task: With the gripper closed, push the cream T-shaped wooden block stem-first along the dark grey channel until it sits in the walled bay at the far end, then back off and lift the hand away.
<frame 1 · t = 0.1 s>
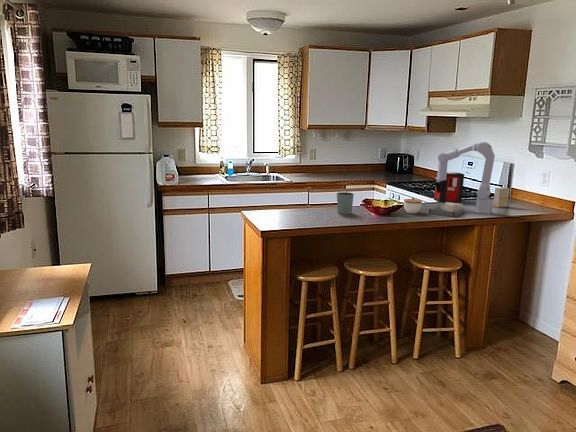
hand: (440, 191, 318), 10 cm above the countertop, tool pointing down, fingers open, 7 cm apart
t block: (451, 210, 310), on the countertop
supplement box: (499, 207, 328), on the countertop
lidded jar: (411, 212, 298), on the countertop
grey cup: (344, 213, 290), on the countertop
cleaning product box: (447, 201, 344), on the countertop
bay: (446, 212, 300), on the countertop
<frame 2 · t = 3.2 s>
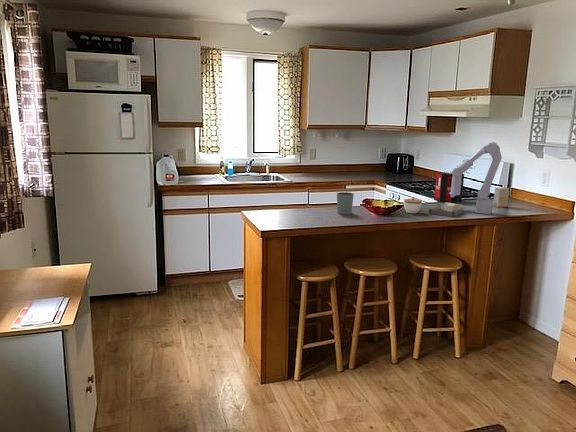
hand: (453, 207, 313), 1 cm above the countertop, tool pointing down, fingers closed
t block: (451, 210, 308), on the countertop, touching gripper
everything else where it was.
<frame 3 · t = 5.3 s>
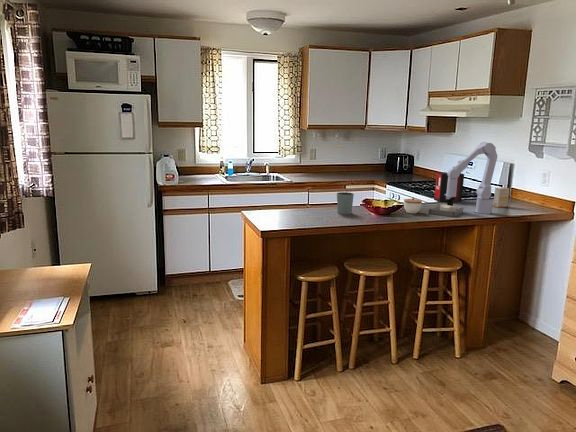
hand: (449, 209, 305), 1 cm above the countertop, tool pointing down, fingers closed
t block: (446, 212, 300), resting in bay, touching gripper
everything else where it was.
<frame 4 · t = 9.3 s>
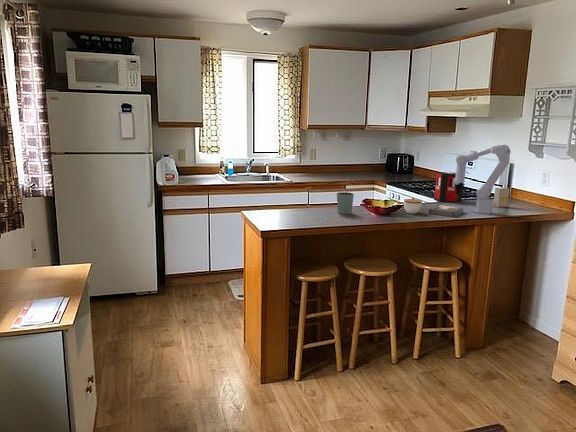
hand: (458, 194, 314), 9 cm above the countertop, tool pointing down, fingers closed
t block: (445, 213, 297), resting in bay
everything else where it was.
at the end: t block 0.9 cm from the target spot on the bay, point 0.0 cm above the bay's base; t block tilted 0° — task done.
